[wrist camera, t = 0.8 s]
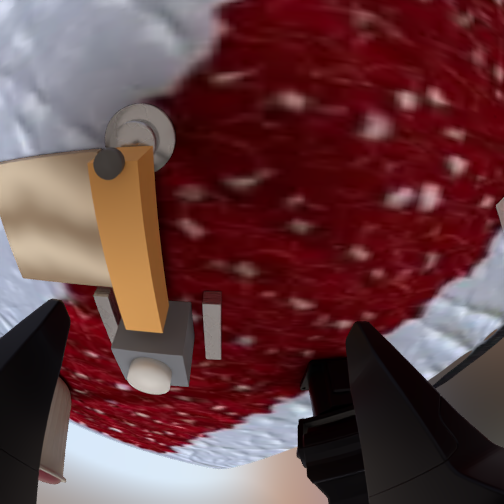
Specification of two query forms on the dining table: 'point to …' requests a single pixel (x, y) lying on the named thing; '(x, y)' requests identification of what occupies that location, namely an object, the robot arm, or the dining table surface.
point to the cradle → (163, 141)
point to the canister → (56, 436)
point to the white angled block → (501, 212)
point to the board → (53, 218)
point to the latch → (131, 233)
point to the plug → (157, 352)
